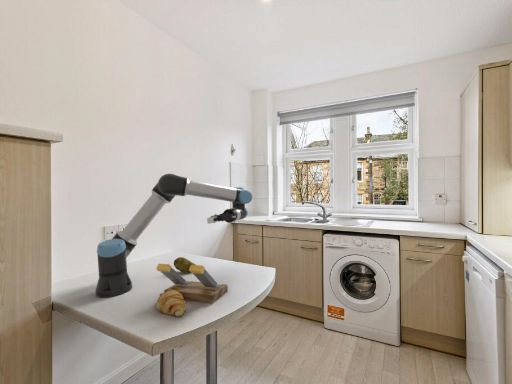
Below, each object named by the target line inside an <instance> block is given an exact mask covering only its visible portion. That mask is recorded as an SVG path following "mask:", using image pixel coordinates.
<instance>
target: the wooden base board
mask: <svg viewBox="0 0 512 384" xmlns="http://www.w3.org/2000/svg"><path fill="white" fill-rule="evenodd" d="M187 281H188V284H187V285H181V284H173V285H171V286H169V287H167V288H165V289H164V291H163V293H165V292H166V291H169V290H176V291H178V292H180V293H181V295H182V296H183V298H184V301H191V302H192V301H193V302H201V303H206V304H207V303H209V304H214V303H215V302H217V301H218V300H219V299H220V298H222V297H223V296H224V295H225V294H227V293H228V284H223V283H218V284H219V288H211V287H204V285H203V284H202V283H201V282H200V281H192V280H187Z"/></svg>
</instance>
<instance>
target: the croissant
mask: <svg viewBox="0 0 512 384" xmlns="http://www.w3.org/2000/svg"><path fill="white" fill-rule="evenodd" d="M155 306H156V309H157V310H158V311H159V312H161V313H163V314H166V315H167V314H168V315H170V316H175V317H181V316H183V315H184V313H185V311H186V300H184V298H183V296H182V295H181V293H180V292H178V291H176V290H169V291H166V292H165V293H164V292H163V293H160V294H159V297H158V298H157V301H156V305H155Z"/></svg>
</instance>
